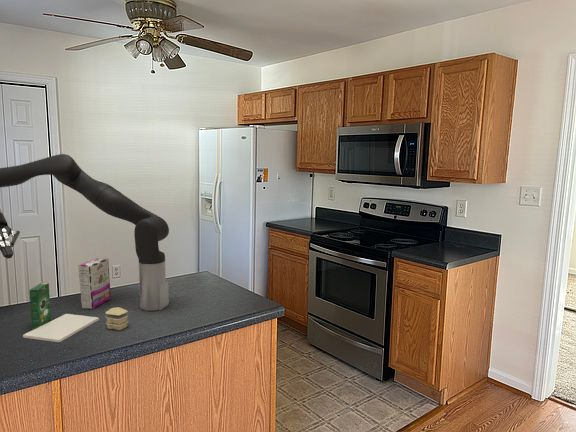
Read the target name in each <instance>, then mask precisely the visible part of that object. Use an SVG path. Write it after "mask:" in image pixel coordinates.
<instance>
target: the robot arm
mask: <svg viewBox="0 0 576 432" xmlns="http://www.w3.org/2000/svg"><path fill="white" fill-rule="evenodd" d="M45 175H46V176H49V175H51V176H53V177H54V178H55V179H56V180H57V181H58V182H59V183H60V184H63V185H64V186H66V187H68V188H70V189H72V190H74V191H75V192H78V193H79V194H80V195H81V196H83V197H84V198H85V199H86V200H87V201H89V202H90V203H91V204H93V205H94V206H95V207H96V208H98V209H99V210H101V211H102V212H104V213H105V214H107V215H109V216H111V217H114V218H116V219H119V220H123V221H125V222H129V223H131V224H132V225H133V224H134V225H135V226H134V231H133V232H134V234H133V235H134V245H135V254H136V256H137V258H138V281H139V282H138V284H139V303H140V306H139V308H140V310H143V311H149V312H150V311H162V310H163V309H165V308H166V307H167V306H169V304H170V303H169V302H170V301H169V297H170V296H169V281H168V279H167V278H166V276H167V275H166V255H165V253H164V252H163V251H160V248H159V242H160V241H163V240H165V239H166V238H167V237H168V235H169V233H170V227H169V225H168V223H167V221H166V220H165V219H163V218H162V217H161V216H159V215H157V214H155V213H154V212H151V211H150V210H148V209H146V208H145V207H143V206H141V205H139V204H138V203H136V201H134V200H132V199H131V198H129V197H127V196H126V195H125V194H124V193H122V192H120V191H119V190H118V189H117V188H115V187H113V186H112V185H110V184H108V183H105V182H103V181H99V180H96V179H94V178H93V177H92V176H90V175H89V174H88V173H86V172H85V171H84V170H83V169H82V167H80V165H79V164H78V163H77V162H76V161H75V159H74V158H73V157H72V156H71V155H69V154H65V153H61V154H60V153H59V154H55V155H52V156H48V157H45V158H40V159H38V160H35V161H31V162H26V163H23V164H19V165H14V166H6V167H0V188H8V187H14V186H15V187H16V186H18V185H22V184H23V183H26V182H28V181H29V180H31V179H33V178H36V177H38V176H45ZM20 233H21V231H19V230H16V231H15V230H12V228H11V227H10V226H9V223H8V221H7V220H6V218H5V215H4V212H3V211H2V209H1V208H0V252H1V254H2V256H3V257H4V258H5V259H6V260H7V259H11V258H13V256H14V250H13V247H14V246H15V244H16V241H17V240H18V238H19V236H20ZM10 236H11V237H12V239H11V241H10V238H9V237H10Z"/></svg>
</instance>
